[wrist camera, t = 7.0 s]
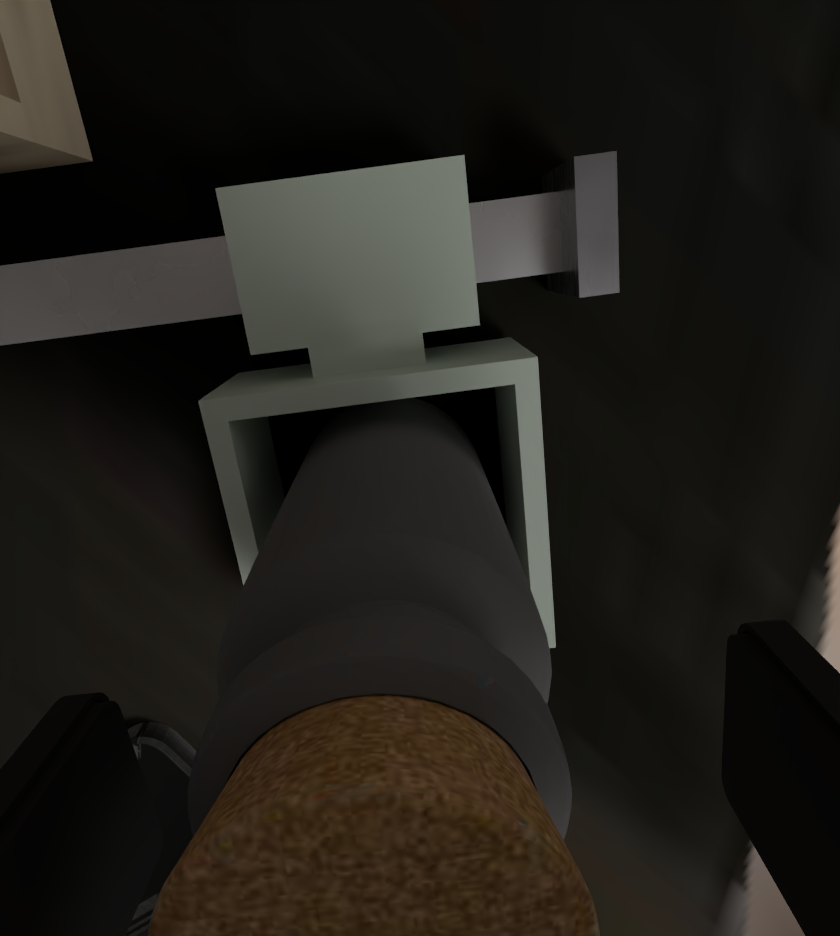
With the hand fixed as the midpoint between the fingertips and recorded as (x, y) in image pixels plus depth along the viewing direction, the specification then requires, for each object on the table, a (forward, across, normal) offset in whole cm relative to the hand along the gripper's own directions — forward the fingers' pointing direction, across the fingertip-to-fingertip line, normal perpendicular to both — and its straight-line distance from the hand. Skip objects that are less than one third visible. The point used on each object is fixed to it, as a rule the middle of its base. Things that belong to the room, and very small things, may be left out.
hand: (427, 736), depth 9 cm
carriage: (+11, +1, -2) cm, 12 cm away
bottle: (+12, +1, 0) cm, 12 cm away
